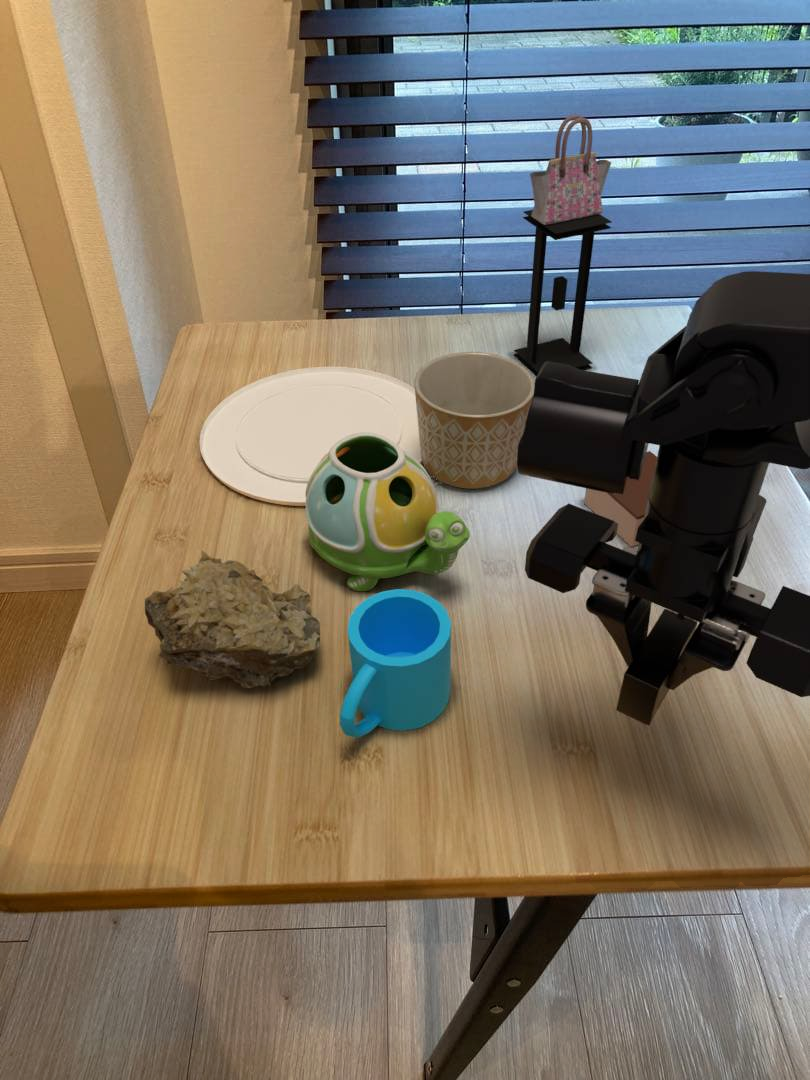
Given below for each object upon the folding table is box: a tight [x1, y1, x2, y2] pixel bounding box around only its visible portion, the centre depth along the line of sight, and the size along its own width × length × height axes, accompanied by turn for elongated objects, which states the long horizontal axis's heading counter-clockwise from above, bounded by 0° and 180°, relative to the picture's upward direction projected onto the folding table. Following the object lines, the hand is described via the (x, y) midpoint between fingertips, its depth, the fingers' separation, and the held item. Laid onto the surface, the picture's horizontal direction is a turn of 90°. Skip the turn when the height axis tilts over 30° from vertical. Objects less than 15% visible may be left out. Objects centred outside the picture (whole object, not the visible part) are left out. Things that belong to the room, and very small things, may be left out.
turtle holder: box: [305, 432, 471, 592], centre depth 80 cm, size 12×18×12 cm
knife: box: [615, 608, 698, 727], centre depth 60 cm, size 16×2×4 cm, turn 146°
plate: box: [199, 366, 423, 507], centre depth 100 cm, size 28×28×1 cm
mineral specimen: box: [144, 549, 321, 689], centre depth 73 cm, size 14×13×10 cm
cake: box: [583, 450, 658, 548], centre depth 87 cm, size 8×8×4 cm
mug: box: [339, 588, 452, 739], centre depth 68 cm, size 12×8×8 cm
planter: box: [413, 351, 535, 489], centre depth 92 cm, size 13×13×10 cm
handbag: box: [513, 114, 613, 377], centre depth 102 cm, size 10×8×30 cm
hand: (654, 676), depth 58 cm, fingers closed on knife, 2 cm apart
